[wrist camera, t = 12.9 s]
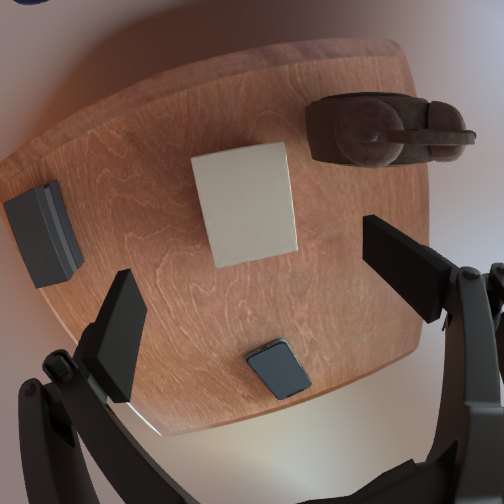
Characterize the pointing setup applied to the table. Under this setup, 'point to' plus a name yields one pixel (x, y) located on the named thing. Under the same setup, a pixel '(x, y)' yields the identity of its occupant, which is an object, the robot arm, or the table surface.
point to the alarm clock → (384, 130)
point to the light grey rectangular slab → (246, 202)
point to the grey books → (44, 235)
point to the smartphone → (279, 369)
